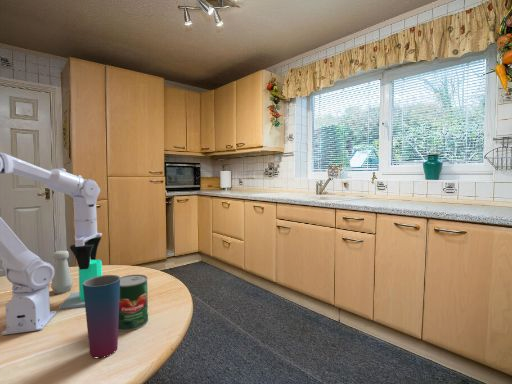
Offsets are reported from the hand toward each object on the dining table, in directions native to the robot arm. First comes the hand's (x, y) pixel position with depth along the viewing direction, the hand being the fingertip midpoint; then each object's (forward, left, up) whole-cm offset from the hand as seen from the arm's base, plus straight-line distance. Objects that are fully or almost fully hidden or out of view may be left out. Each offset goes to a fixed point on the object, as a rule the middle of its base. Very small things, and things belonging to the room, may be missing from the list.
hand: (87, 264), depth 85 cm
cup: (-30, -10, -11) cm, 34 cm away
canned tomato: (-19, -14, -11) cm, 26 cm away
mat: (0, +1, -10) cm, 10 cm away
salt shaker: (+10, +10, -11) cm, 17 cm away
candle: (0, -1, -10) cm, 10 cm away
